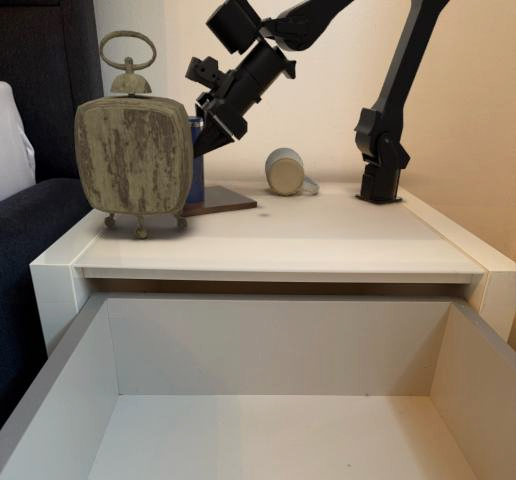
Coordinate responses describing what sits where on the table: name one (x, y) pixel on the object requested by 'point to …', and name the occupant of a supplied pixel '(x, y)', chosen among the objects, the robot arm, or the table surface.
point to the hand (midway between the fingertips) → (185, 153)
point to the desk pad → (218, 202)
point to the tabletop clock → (134, 147)
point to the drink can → (196, 165)
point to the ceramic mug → (287, 173)
